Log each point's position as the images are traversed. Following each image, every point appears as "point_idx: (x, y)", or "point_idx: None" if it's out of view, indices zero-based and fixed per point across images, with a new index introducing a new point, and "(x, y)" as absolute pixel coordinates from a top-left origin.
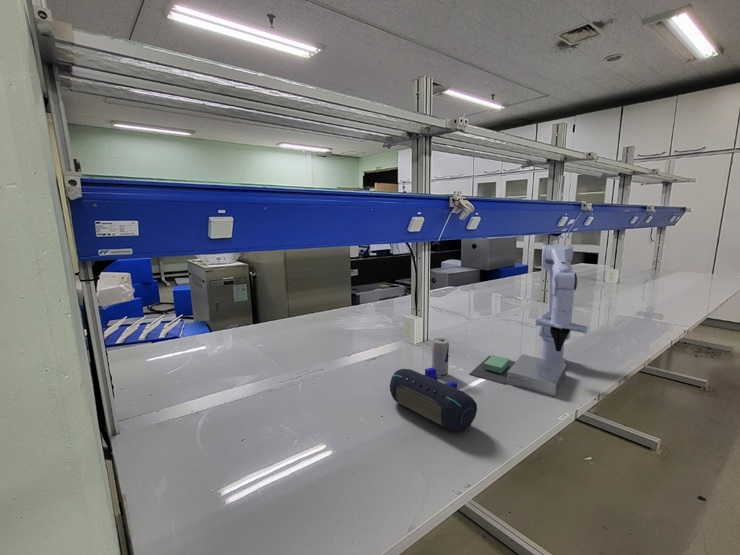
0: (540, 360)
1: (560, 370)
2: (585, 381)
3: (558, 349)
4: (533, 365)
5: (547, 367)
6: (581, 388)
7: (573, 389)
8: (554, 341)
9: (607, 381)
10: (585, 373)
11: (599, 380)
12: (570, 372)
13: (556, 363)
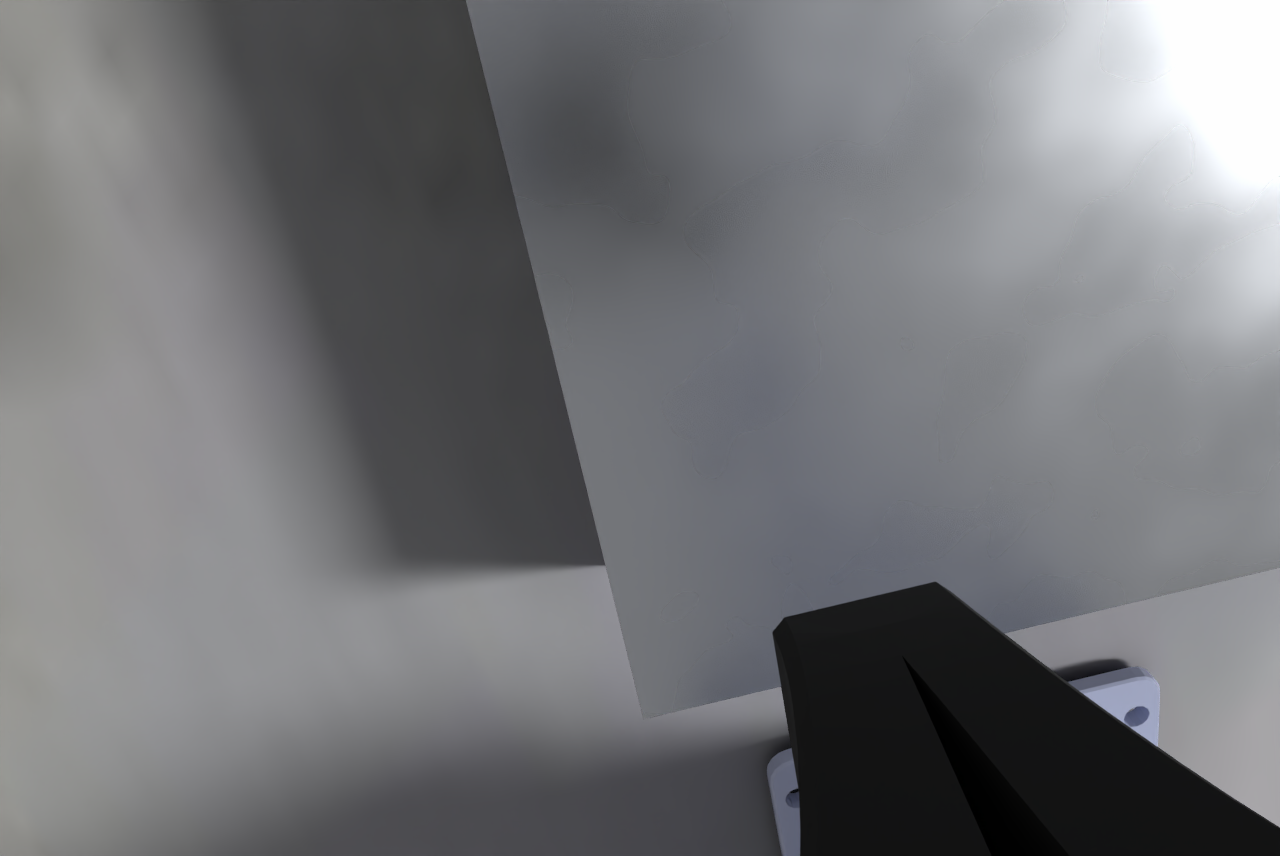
0: (1144, 484)
1: (592, 275)
2: (263, 589)
3: (865, 637)
4: (1231, 44)
5: (903, 206)
6: (144, 244)
7: (216, 63)
8: (1276, 831)
9: (45, 838)
10: (417, 852)
11: (141, 784)
12: (598, 724)
13: (812, 592)
